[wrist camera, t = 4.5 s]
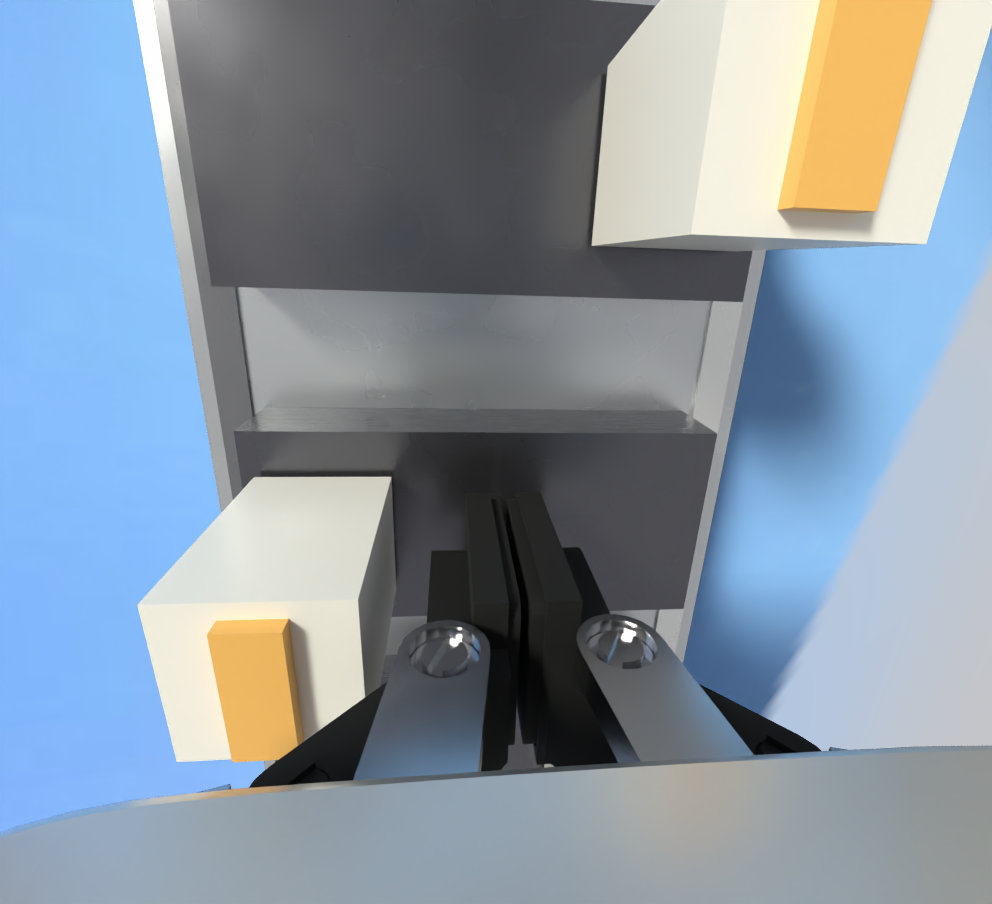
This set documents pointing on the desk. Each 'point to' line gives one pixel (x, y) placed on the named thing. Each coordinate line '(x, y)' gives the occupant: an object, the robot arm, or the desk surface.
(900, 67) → the handle
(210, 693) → the handle mid
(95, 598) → the desk surface
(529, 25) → the panel
